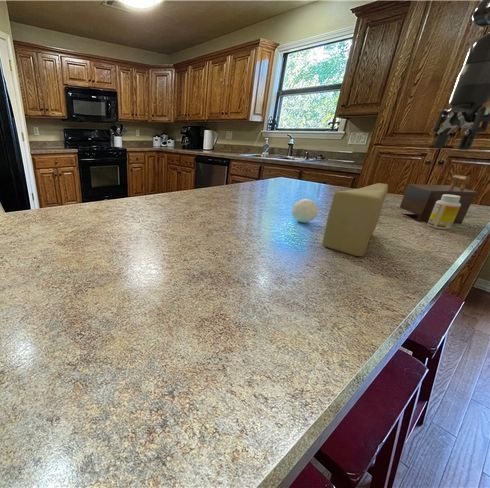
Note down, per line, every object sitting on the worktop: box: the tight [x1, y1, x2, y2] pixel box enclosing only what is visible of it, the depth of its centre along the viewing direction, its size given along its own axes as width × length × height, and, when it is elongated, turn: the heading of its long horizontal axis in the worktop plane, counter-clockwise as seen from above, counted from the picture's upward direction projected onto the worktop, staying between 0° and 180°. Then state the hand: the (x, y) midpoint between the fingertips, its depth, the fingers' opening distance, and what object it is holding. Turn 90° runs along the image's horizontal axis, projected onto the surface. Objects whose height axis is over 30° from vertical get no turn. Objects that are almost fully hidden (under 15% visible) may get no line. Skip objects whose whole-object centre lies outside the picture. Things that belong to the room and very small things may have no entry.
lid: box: [407, 174, 479, 196], centre depth 90 cm, size 13×12×5 cm
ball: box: [291, 198, 319, 224], centre depth 88 cm, size 8×8×8 cm
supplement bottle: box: [426, 194, 461, 230], centre depth 84 cm, size 6×6×10 cm
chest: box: [399, 185, 476, 225], centre depth 93 cm, size 13×12×10 cm
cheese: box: [322, 182, 389, 257], centre depth 71 cm, size 22×10×15 cm, turn 128°
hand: (450, 148), depth 77 cm, fingers open, 8 cm apart
